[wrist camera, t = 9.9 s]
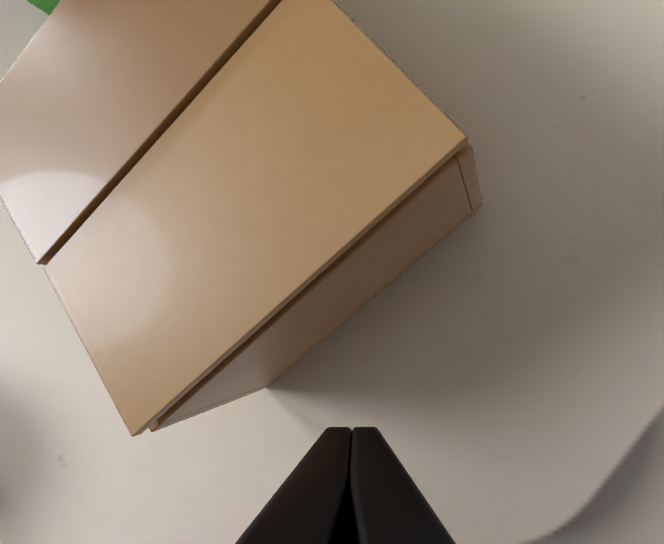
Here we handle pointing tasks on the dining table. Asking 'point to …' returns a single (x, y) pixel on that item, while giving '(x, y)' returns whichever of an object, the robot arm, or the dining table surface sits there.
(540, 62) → the dining table surface
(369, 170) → the flap
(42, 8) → the ink box
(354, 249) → the carton
